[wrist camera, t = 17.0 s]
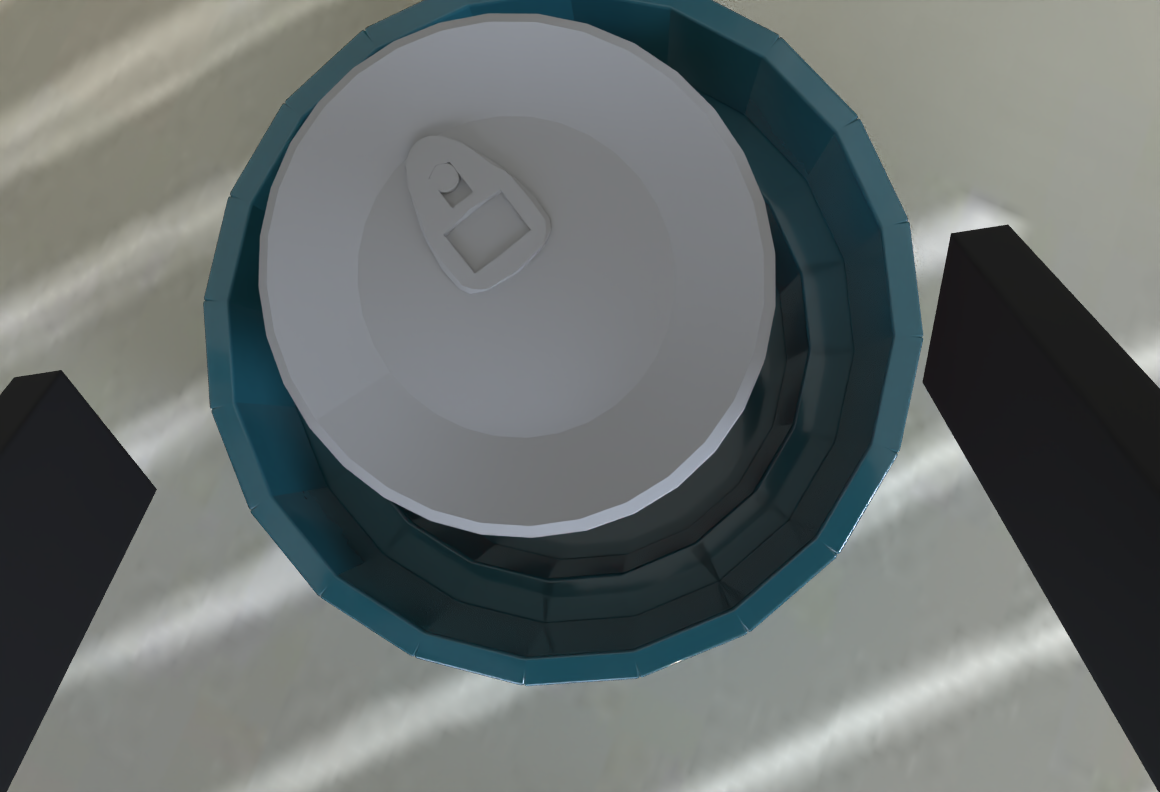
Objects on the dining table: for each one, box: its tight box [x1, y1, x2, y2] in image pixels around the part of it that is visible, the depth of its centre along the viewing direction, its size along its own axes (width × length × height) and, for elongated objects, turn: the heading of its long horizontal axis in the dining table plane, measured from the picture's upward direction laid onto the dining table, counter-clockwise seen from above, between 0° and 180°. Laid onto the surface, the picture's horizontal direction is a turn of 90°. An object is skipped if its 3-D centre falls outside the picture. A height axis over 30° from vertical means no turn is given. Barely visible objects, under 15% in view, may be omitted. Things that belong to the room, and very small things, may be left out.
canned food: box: [258, 13, 775, 538], centre depth 16 cm, size 8×8×11 cm
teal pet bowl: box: [203, 0, 923, 686], centre depth 19 cm, size 15×15×6 cm
